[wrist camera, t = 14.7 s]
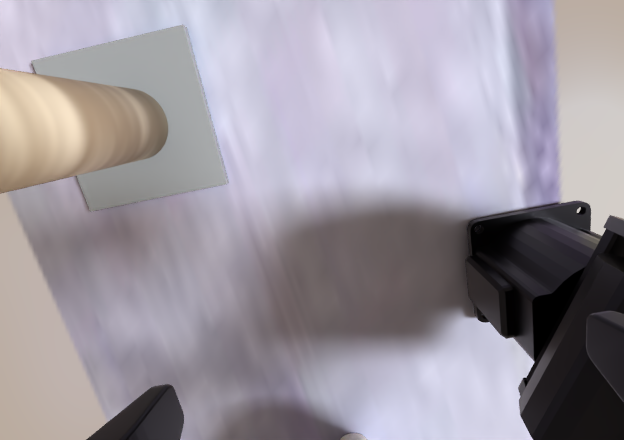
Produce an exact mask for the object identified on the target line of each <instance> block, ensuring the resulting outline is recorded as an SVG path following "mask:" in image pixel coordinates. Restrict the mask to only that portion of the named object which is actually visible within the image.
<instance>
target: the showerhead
mask: <svg viewBox="0 0 624 440" xmlns="http://www.w3.org/2000/svg"><path fill="white" fill-rule="evenodd" d="M340 440H367V439H366V437H364V436H363V435H361V434H357V433H350V434H347V435H345V436H343V437H342V438H341V439H340Z"/></svg>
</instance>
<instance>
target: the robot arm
mask: <svg viewBox="0 0 624 440" xmlns="http://www.w3.org/2000/svg"><path fill="white" fill-rule="evenodd" d="M579 207H581V210H580V212H579V213H577V209H578V208H579ZM590 224H591V208H590V205H589V204H587V203H585V202H582V201H572V202H567V203H561V204H556V205H550V206H545V207H540V208H534V209H529V210H523V211H518V212H512V213H507V214H502V215H496V216H491V217H485V218H480V219H475V220H472V221H471V222H470V223H469V224H468V227H467V232H468V244H469V255H470V256H468V257H467V259H466V260H465V261H466V273H467V284H468V295H469V298H470V299H471V300H472V301H473V303H474V313H475V316H476V317H477V318H478V320H479V321H481V322H490V323H491V324H492V325H493V326H494V328H495V329H496V330H497V331H498V332H499V334H500V335H502V336H503V337H505V338H514V339H515V340H516V341H517V342H518V344H519V345H520V346H521V347H522V348H523V349H524V350H525V351H526V353H527V354H528V355H529V356H530V357H531V358H532V359H533V360H534V362H535V363H534V365H533V367H532V368H531V370H530V372H529V374H528V376H527V378H523V380H522V381H521V383H520V385H519V387H518V389H519V392H520V396H521V397H520V399H519V406H520V415H521V417H522V419H523V421H524V423H525V425H526V427H527V429H528V431H529V433H530V435H531V437H532V438H533V440H624V219H622V218H619V217H615V216H611V215H610V216H609V218H608V220H607V222H606V224H605V225H604V228H606V230H605V232H604V234H603V236H600V235H598V234H596V233H594V232H591V231H590V226H591V225H590ZM479 225H480V226H481V228H480V230H479V231H477V232H475V228H476V227H477V226H479ZM482 313H483V315H482ZM183 424H184V414H183V410H182V408H181V405H180V403H179V400H178V397H177V395H176V392H175V390H174V388H173V386H172V385H170V384H165V385H159V386H154V387H151V388H150V389H149V390H147V391H146V392H145V393H144V394H142V395H141V396H140V397H139V398H137V399H136V400H135V401H134V402H132V403H131V404H130V405H129V406H127V407H126V408H125V409H124V410H123V411H121V412H120V413H119V414H118V415H116V416H115V417H114V418H113V419H111V420H110V421H109V422H108V423H106V424H105V425H104V426H103V427H102V428H100V429H99V430H98V431H96V432H95V433H94V434H93V435H92V436H91V437H89V438H88V439H87V440H180V438H181V433H182V429H183Z"/></svg>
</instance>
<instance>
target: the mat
mask: <svg viewBox="0 0 624 440" xmlns="http://www.w3.org/2000/svg"><path fill="white" fill-rule="evenodd" d="M32 64H33V67H34V69H35V72H36V74H40V75H47V76H53V77H60V78H66V79H72V80H79V81H85V82H92V83H98V84H105V85H111V86H118V87H124V88H130V89H136V90H140V91H143V92H145V93H147V94H148V95H150V96H151V97H153V98H154V99H155V100H156V101H157V102H158V103H159V105H160V106H161V107H162V109H163V111H164V113H165V115H166V118H167V122H168V136H167V140H166V143H165V145H164V146H163V148H162V149H161V150H160V151H159V152H158V153H157V154H156V155H154V156H152V157H150V158H147V159H143V160H139V161H135V162H131V163H127V164H122V165H118V166H114V167H110V168H106V169H101V170H97V171H93V172H89V173H85V174H80V175H76V176H77V179H78V181H79V184H80V187H81V189H82V192H83V194H84V197H85V199H86V202H87V204H88V207H89V210H90V212H91V211H96V210H101V209H106V208H111V207H116V206H121V205H126V204H131V203H136V202H141V201H146V200H151V199H156V198H161V197H166V196H171V195H176V194H181V193H186V192H191V191H196V190H201V189H205V188H210V187H215V186H220V185H225V184H228V183H229V182H228V178H227V174H226V171H225V167H224V163H223V159H222V156H221V152H220V148H219V145H218V141H217V137H216V134H215V130H214V126H213V123H212V119H211V115H210V112H209V108H208V104H207V101H206V97H205V93H204V90H203V86H202V82H201V79H200V75H199V71H198V68H197V64H196V60H195V57H194V53H193V49H192V45H191V42H190V38H189V34H188V31H187V27H185V26H184V25H180V26H176V27H171V28H167V29H163V30H159V31H155V32H150V33H146V34H142V35H138V36H134V37H129V38H125V39H121V40H117V41H113V42H108V43H104V44H100V45H96V46H92V47H87V48H83V49H79V50H75V51H71V52H67V53H62V54H58V55H54V56H50V57H46V58H41V59H37V60H33V61H32Z"/></svg>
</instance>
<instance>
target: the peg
mask: <svg viewBox="0 0 624 440" xmlns="http://www.w3.org/2000/svg"><path fill="white" fill-rule="evenodd" d="M167 136H168V122H167V118H166V115H165V113H164V111H163V109H162V107H161V106H160V105H159V103H158V102H157V101H156V100H155V99H154V98H153V97H151V96H150V95H148V94H147V93H145V92H143V91H140V90H136V89H130V88H124V87H118V86H111V85H105V84H98V83H92V82H85V81H79V80H72V79H66V78H60V77H53V76H47V75H40V74H34V73H27V72H21V71H15V70H8V69H2V68H0V193H5V192H9V191H13V190H17V189H22V188H26V187H30V186H34V185H38V184H43V183H47V182H51V181H55V180H59V179H64V178H68V177H72V176H76V175H80V174H85V173H89V172H93V171H97V170H101V169H106V168H110V167H114V166H118V165H122V164H127V163H131V162H135V161H139V160H143V159H147V158H150V157H152V156H154V155H156V154H157V153H158V152H159V151H160V150H161V149H162V148H163V146H164V145H165V143H166V140H167Z"/></svg>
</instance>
